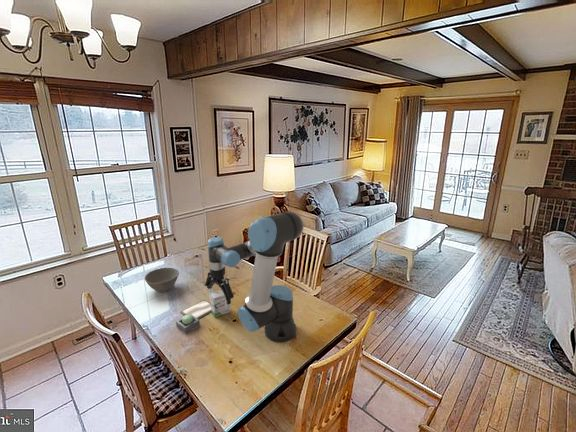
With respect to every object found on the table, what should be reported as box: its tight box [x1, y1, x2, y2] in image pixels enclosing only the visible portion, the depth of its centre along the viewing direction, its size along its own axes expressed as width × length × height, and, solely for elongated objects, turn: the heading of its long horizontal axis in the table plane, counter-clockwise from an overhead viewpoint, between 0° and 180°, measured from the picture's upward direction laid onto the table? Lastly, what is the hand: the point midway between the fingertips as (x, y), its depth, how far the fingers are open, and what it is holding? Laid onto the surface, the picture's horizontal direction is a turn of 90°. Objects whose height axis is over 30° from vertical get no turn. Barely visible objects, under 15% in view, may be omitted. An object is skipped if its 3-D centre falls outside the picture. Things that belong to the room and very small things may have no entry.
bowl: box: [144, 267, 180, 292], centre depth 178 cm, size 19×19×10 cm
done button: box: [181, 315, 193, 326], centre depth 147 cm, size 5×5×3 cm
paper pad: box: [180, 299, 212, 320], centre depth 160 cm, size 12×15×1 cm
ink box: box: [209, 289, 231, 318], centre depth 156 cm, size 8×5×12 cm, turn 124°
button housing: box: [175, 314, 201, 334], centre depth 147 cm, size 8×8×3 cm
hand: (219, 303), depth 156 cm, fingers open, 13 cm apart
